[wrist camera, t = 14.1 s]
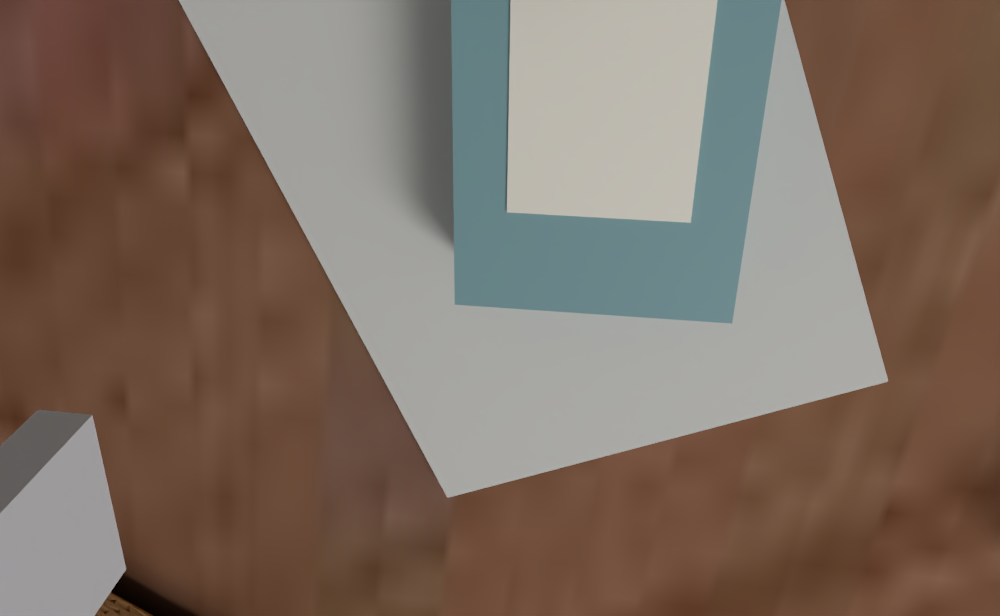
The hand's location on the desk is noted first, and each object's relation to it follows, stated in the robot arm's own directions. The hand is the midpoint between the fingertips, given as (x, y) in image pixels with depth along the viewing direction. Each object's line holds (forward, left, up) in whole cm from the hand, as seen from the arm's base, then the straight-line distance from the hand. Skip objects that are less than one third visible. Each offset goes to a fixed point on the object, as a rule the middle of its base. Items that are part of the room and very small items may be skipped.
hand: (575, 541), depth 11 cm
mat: (-1, -2, -17) cm, 17 cm away
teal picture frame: (+3, -1, -15) cm, 15 cm away
